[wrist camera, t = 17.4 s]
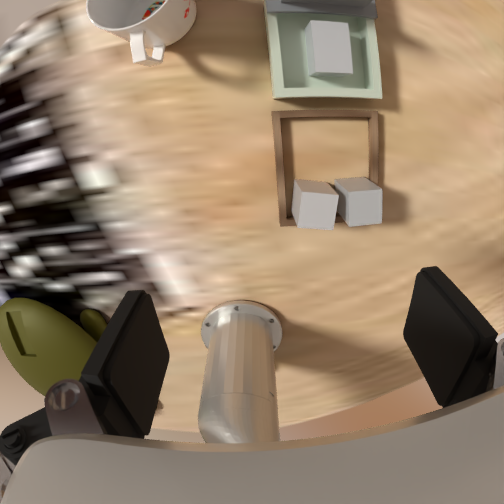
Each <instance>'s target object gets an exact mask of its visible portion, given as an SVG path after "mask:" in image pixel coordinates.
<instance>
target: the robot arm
mask: <svg viewBox="0 0 504 504" xmlns="http://www.w3.org/2000/svg"><path fill="white" fill-rule="evenodd" d="M403 335H404V339H405V341H406V343H407V345H408V347H409V349H410V350H411V352H412V354H413V356H414V358H415V360H416V362H417V363H418V365H419V367H420V369H421V371H422V373H423V375H424V377H425V379H426V381H427V383H428V385H429V387H430V389H431V391H432V393H433V395H434V397H435V399H436V401H437V403H438V404H439V405H440V406H442V407H443V408H442V409H439V410H436V411H433V412H430V413H427V414H424V415H421V416H417V417H413V418H410V419H406V420H402V421H399V422H395V423H391V424H387V425H383V426H378V427H373V428H369V429H364V430H359V431H354V432H348V433H343V434H337V435H331V436H323V437H316V438H308V439H300V440H289V441H280V433H279V420H278V405H277V390H276V376H275V362H274V351H275V350H276V349H277V348H278V346H279V345H280V343H281V340H282V326H281V323H280V320H279V319H278V317H277V316H276V315H275V314H274V312H273V311H271V310H270V309H269V308H267V307H265V306H263V305H261V304H259V303H255V302H252V301H244V300H239V301H230V302H226V303H223V304H220V305H218V306H216V307H215V308H213V309H212V310H211V311H210V312H209V313H208V314H207V315H206V317H205V318H204V320H203V323H202V328H201V336H202V340H203V342H204V344H205V346H206V347H207V348H208V354H207V360H206V366H205V373H204V379H203V386H202V392H201V399H200V406H199V413H198V426H199V430H200V433H201V435H202V437H203V439H204V441H205V442H206V443H191V442H173V441H160V440H149V439H144V436H145V435H148V434H149V433H150V429H151V425H152V421H153V418H154V414H155V410H156V406H157V402H158V399H159V395H160V391H161V388H162V384H163V380H164V377H165V373H166V370H167V366H168V363H169V350H168V347H167V344H166V341H165V338H164V336H163V333H162V330H161V327H160V323H159V320H158V317H157V314H156V311H155V308H154V304H153V301H152V298H151V296H150V294H146V292H145V291H144V290H134V291H128V292H127V293H126V294H125V296H124V298H123V299H122V301H121V303H120V304H119V306H118V308H117V309H116V311H115V313H114V314H113V316H112V318H111V320H110V321H109V323H108V325H107V326H106V328H105V330H104V332H103V333H102V335H101V337H100V339H99V341H98V342H97V344H96V346H95V348H94V350H93V351H92V353H91V355H90V357H89V359H88V361H87V363H86V364H85V366H84V368H83V370H82V372H81V377H80V379H79V381H78V380H75V379H64V380H60V381H58V382H57V383H55V384H53V385H52V386H51V387H50V388H49V390H48V391H47V393H46V395H45V399H44V402H45V407H44V408H42V409H41V410H38V411H36V412H34V413H32V414H31V415H28V416H26V417H24V418H22V419H20V420H19V421H16V422H14V423H12V424H10V425H9V426H7V427H6V428H5V429H4V430H3V431H2V433H1V435H0V504H504V338H503V339H501V340H500V341H499V342H498V343H497V342H496V341H495V339H496V337H497V335H498V333H497V332H496V331H495V330H494V328H493V327H492V326H491V325H490V324H489V322H488V321H487V320H486V319H485V318H484V316H483V315H482V314H481V313H480V312H479V311H478V310H477V308H476V307H475V306H474V305H473V304H472V303H471V302H470V301H469V299H468V298H467V297H466V296H465V295H464V294H463V293H462V292H461V291H460V290H459V289H458V288H457V286H456V285H455V284H454V283H453V282H452V281H451V280H450V279H449V278H448V277H447V276H446V275H445V274H444V273H443V272H442V271H441V270H440V269H439V268H438V267H437V266H433V267H425V268H422V269H421V271H420V272H419V273H418V274H417V276H416V280H415V285H414V290H413V294H412V299H411V303H410V307H409V311H408V315H407V319H406V323H405V327H404V331H403Z"/></svg>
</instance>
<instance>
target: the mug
mask: <svg viewBox="0 0 504 504" xmlns="http://www.w3.org/2000/svg"><path fill="white" fill-rule="evenodd" d="M86 10H87V15H88V17H89V19H90V21H91V22H92V23H93V24H94V25H95V26H97V27H98V28H100V29H103V30H105V31H107V32H109V33H112V34H114V35H116V36H118V37H120V38H123V39H125V40H127V41H129V42H130V46H131V52H132V57H133V63H137V64H141V65H145V66H148V67H151V66H155V65H159V64H162V62H163V58H164V52H165V47H166V46H168V45H171V44H173V43H175V42H177V41H178V40H180V39H181V38H182V37H183V36H184V35H185V34H186V33H187V32H188V31H189V30H190V28H191V27H192V25H193V23H194V21H195V18H196V4H195V1H194V0H87V2H86ZM145 48H148V49H153V53H152V57H149V56H148V55H147V53H146V50H145Z"/></svg>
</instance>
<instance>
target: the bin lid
mask: <svg viewBox="0 0 504 504" xmlns="http://www.w3.org/2000/svg"><path fill="white" fill-rule="evenodd" d="M265 3H266V11H267V14H273V13H313V14H332V15H344V16H354V17H363V18H370V19H377V18H378V16H377V11H376V5H375V0H265Z"/></svg>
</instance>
